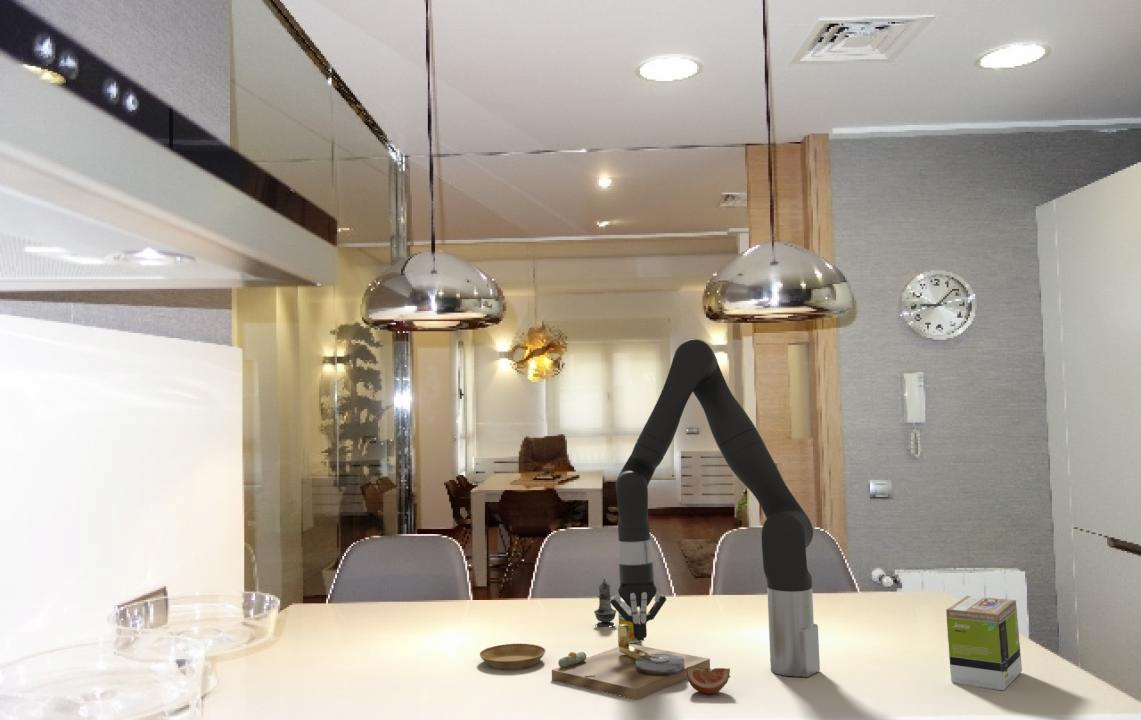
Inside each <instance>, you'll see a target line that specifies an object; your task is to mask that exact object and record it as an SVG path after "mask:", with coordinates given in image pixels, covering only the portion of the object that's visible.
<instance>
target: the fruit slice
mask: <svg viewBox="0 0 1141 720" xmlns="http://www.w3.org/2000/svg"><path fill="white" fill-rule="evenodd" d="M730 672H731V668H726V667H725V668H721V667H717V668H713V669H706V668H697V667H687V678H686V679H687V680H688V683H689V685H690V686H691V687H692V688H693V690H695V691H697V692H699V693H702V694H706V695H709V694H710V695H711V694H715V693H718V692H720V691H721V690H722V689H723V688H725V686H726V684H727V683H728V682H729V678H731V675H730V674H731V673H730Z"/></svg>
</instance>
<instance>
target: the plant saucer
mask: <svg viewBox="0 0 1141 720" xmlns="http://www.w3.org/2000/svg"><path fill="white" fill-rule="evenodd" d="M546 652H547V651H546V648H545V647H542V646H540V645H537V644H531V643H508V644H507V643H505V644H499V645H494V646H490V647H487V648H484V649H483V650H481V651H480V652H479V656H480V658H481V660H482V661H484V663H486V664H487V665H488V666H489V667H490V668H492V669H498V670H521V669H527V668H530V667H533V666H535V665H536V664H538V663H539V662H540V660H541V659H542V658H543V657H544V655H545V653H546Z"/></svg>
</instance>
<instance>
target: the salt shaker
mask: <svg viewBox="0 0 1141 720" xmlns="http://www.w3.org/2000/svg"><path fill="white" fill-rule="evenodd" d="M598 590H599V593H598V594H599V595H598V596H597V598H598V600H599V601H598V602H599V605H598V608H597V609H596V610H594V611H593V613H594V615H595V618H596V620H597V621H598V622H597V623H595V626H596V625H597V626H598V627H597V628H600V627H609V626H613V625H614V623H615V622H612V621H614V619H615V617H616V613H618V611H617V610H616V609H614V608H612V607H613V606H612V604H611V602H610V598H612V595H611V586H610V584H609V583H608V582H607V581H606V579H605V578H603V580H602V582H601V583H599V585H598Z"/></svg>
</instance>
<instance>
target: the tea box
mask: <svg viewBox="0 0 1141 720" xmlns="http://www.w3.org/2000/svg"><path fill="white" fill-rule="evenodd" d="M945 611H946V627H947V628H946V630H947V642H948V655H949V656H948V658H949V669H950V670H949V672H950V681H951V683H953V684H958V685H964V686H968V687H969V686H970V687H976V688H977V687H978V688H983V689H989V690H995V691H997V690H998V691H1004V690H1005V689H1007V687H1008V686H1009V685H1010V684H1011V683H1012V682H1013V681H1014V680H1015V679H1016V678H1017V677H1018V676H1019V675H1020V674H1021V673H1022V671H1023V666H1022V665H1023V664H1022V655H1021V643H1020V633H1019V620H1018V608H1017V600H1016V599H1006V598H996V597H986V596H985V597H983V596H971V595H966V596H964V597H962V599H960V600H959V601H957V602H956V603H954V604H953V605H951V606H950V607H948V608H947V609H946V610H945Z"/></svg>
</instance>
